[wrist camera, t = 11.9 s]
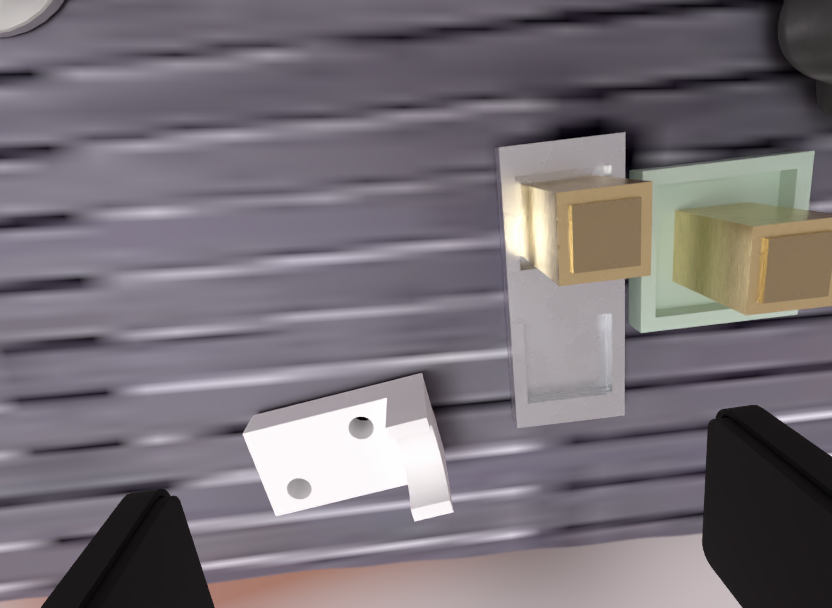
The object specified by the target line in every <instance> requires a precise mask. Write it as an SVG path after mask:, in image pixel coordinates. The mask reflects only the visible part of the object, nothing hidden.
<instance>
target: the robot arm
mask: <svg viewBox="0 0 832 608" xmlns="http://www.w3.org/2000/svg"><path fill="white" fill-rule="evenodd" d="M63 1H64V0H0V37H11V36H14V35H17V34H21V33H24V32H27V31H30V30H31V29H33V28H35V27H37V26H38V25H40V24H42V23H44V22H45V21H46V20H47V19H48V18H49V17H50V16H51V15H52V14H54V13H55V12H56V11H57V10H58V9H59V7H60V6H61V4H62V3H63ZM702 545H703V550H704V553H705V556H706V558H707V560H708V562H709V564H710V566H711V567H712V568H713V570H714V571H715V572H716V574H717V575H718V576H719V577H720V579H721V580H722V581H723V583H724V584H725V585H726V587H727V588H728V589H729V591H730V592H731V593H732V595H733V596H734V597H735V598H736V600H737V601H738V602H739V604H740V605H741V606H742V607H743V608H832V457H831V456H830V455H828V454H827V453H826V452H824V451H823V450H821V449H820V448H819V447H817V446H816V445H814V444H813V443H811V442H810V441H809V440H807V439H806V438H804V437H803V436H801V435H800V434H799V433H797V432H796V431H794V430H793V429H791V428H790V427H789V426H787V425H786V424H784V423H783V422H782V421H780V420H779V419H777V418H776V417H774V416H773V415H772V414H770V413H769V412H767V411H766V410H764V409H763V408H761V407H759V406H757V405H749V406H742V407H735V408H728V409H722V410H720V411H719V412H718V413H717V415H716V419H713V420H711V421H710V422H709V425H708V436H707V456H706V476H705V496H704V516H703V537H702ZM41 608H214V604H213V601H212V598H211V595H210V592H209V589H208V586H207V583H206V580H205V576H204V573H203V570H202V567H201V564H200V561H199V558H198V555H197V552H196V549H195V545H194V542H193V539H192V536H191V533H190V530H189V527H188V524H187V521H186V518H185V514H184V511H183V508H182V505H181V502H180V500H179V498H178V497H177V496H170V494H169V493H168V492H167V491H166V490H165V489H156V490H149V491H142V492H135V493H130V494H127V495H126V496H125V497H124V498H123V499H122V501H121V502H120V503H119V504H118V506H117V507H116V508H115V510H114V511H113V512H112V514H111V515H110V516H109V518H108V519H107V520H106V522H105V523H104V524H103V526H102V527H101V528H100V530H99V531H98V532H97V534H96V535H95V536H94V538H93V539H92V540H91V542H90V543H89V544H88V546H87V547H86V548H85V550H84V551H83V552H82V554H81V555H80V556H79V558H78V559H77V560H76V561H75V563H74V564H73V565H72V567H71V568H70V569H69V571H68V572H67V573H66V575H65V576H64V577H63V579H62V580H61V581H60V583H59V584H58V585H57V587H56V588H55V589H54V591H53V592H52V593H51V595H50V596H49V597H48V599H47V600H46V601H45V603H44V604H43V605H42V607H41Z"/></svg>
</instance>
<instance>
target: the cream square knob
mask: <svg viewBox="0 0 832 608" xmlns="http://www.w3.org/2000/svg"><path fill="white" fill-rule="evenodd" d="M520 185H521V203H522V222H523V240H524V258H526V259H527V260H528V261H529V262H530V263H532V264H533V265H534V266H535V267H537V268H538V269H539V270H540V271H541V272H543V273H544V274H545V275H546V276H547V277H549V278H550V279H551V280H552V281H553V282H555V283H556V284H557V285H558V286H567V285H575V284H584V283H592V282H600V281H609V280H617V279H625V278H634V277H642V276H651V243H652V188H653V181H645V180H636V179H627V178H617V177H608V176H599V175H591V176H583V177H575V178H566V179H558V180H550V181H541V182H533V183H525V184H520Z"/></svg>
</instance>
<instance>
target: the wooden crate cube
mask: <svg viewBox="0 0 832 608" xmlns="http://www.w3.org/2000/svg"><path fill="white" fill-rule="evenodd" d="M672 281H673V282H675V283H677V284H680V285H682V286H684V287H686V288H688V289H690V290H692V291H695V292H697V293H699V294H701V295H703V296H705V297H707V298H710V299H712V300H714V301H716V302H718V303H720V304H722V305H725V306H727V307H729V308H731V309H733V310H735V311H737V312H740V313H742V314H744V315H746V316H747V315H755V314H764V313H773V312H782V311H791V310H799V309H808V308H817V307H826V306H832V214H830V213H823V212H816V211H809V210H802V209H794V208H787V207H780V206H773V205H766V204H759V203H751V202H744V203H735V204H726V205H717V206H709V207H700V208H691V209H682V210H675V223H674V251H673V278H672Z"/></svg>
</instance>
